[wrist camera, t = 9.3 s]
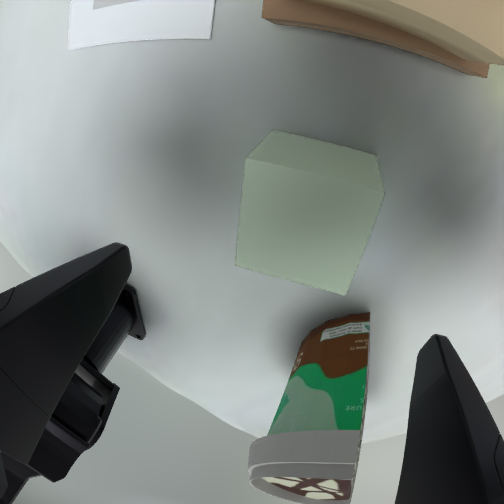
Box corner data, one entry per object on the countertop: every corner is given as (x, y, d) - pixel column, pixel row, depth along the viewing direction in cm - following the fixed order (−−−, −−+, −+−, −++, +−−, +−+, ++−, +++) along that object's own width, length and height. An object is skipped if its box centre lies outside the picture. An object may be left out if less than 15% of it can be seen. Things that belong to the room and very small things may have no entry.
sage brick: (349, 239, 15) (345, 295, 11) (261, 216, 15) (234, 265, 12) (375, 154, 12) (385, 193, 9) (273, 129, 12) (245, 158, 9)
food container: (265, 295, 18) (201, 452, 11) (369, 293, 16) (352, 476, 8) (297, 396, 25) (266, 500, 17) (366, 399, 22) (348, 510, 15)
